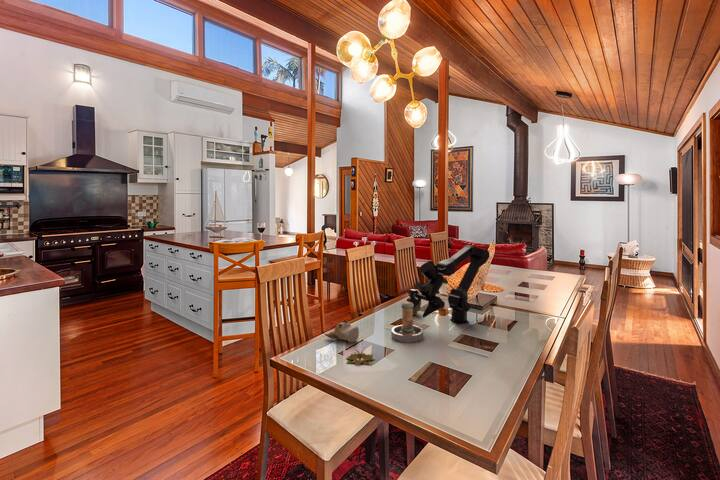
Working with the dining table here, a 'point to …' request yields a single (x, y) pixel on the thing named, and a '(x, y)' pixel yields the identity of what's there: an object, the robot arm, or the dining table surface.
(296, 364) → the dining table surface
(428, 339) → the dining table surface
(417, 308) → the cup
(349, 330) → the ceramic sculpture
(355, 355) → the lily flower
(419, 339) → the round tray
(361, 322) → the dining table surface
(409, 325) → the disc
